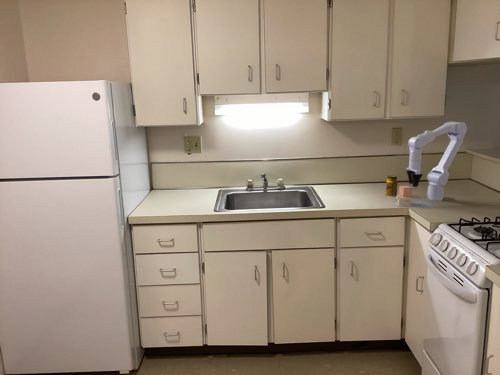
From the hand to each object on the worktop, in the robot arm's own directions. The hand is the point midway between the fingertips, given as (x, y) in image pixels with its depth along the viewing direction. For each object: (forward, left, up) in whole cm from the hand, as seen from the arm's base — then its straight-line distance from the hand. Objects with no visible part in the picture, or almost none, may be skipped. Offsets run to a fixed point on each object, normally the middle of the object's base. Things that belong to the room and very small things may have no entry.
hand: (413, 185), depth 225 cm
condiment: (-15, -7, -10) cm, 19 cm away
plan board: (+6, -1, -10) cm, 12 cm away
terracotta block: (+5, -5, -5) cm, 8 cm away
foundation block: (+6, -6, -9) cm, 12 cm away
